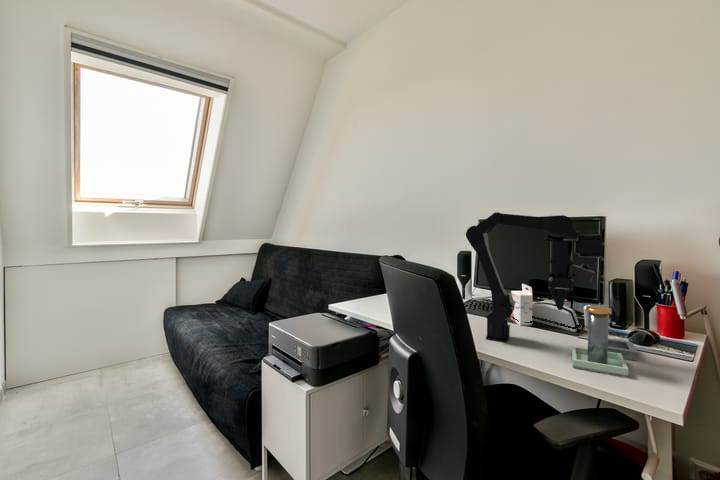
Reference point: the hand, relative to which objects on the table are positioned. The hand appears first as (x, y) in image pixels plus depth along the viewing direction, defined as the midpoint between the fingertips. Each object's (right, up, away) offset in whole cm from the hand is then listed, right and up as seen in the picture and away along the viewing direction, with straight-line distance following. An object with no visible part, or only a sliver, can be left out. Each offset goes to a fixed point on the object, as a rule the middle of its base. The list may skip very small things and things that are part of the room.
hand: (560, 306), depth 103 cm
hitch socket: (+14, -13, -3) cm, 20 cm away
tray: (+3, -14, -12) cm, 18 cm away
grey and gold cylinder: (+3, -13, -12) cm, 18 cm away
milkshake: (+22, -12, +17) cm, 30 cm away
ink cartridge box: (+1, -12, +28) cm, 30 cm away
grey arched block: (+12, -12, +24) cm, 29 cm away
